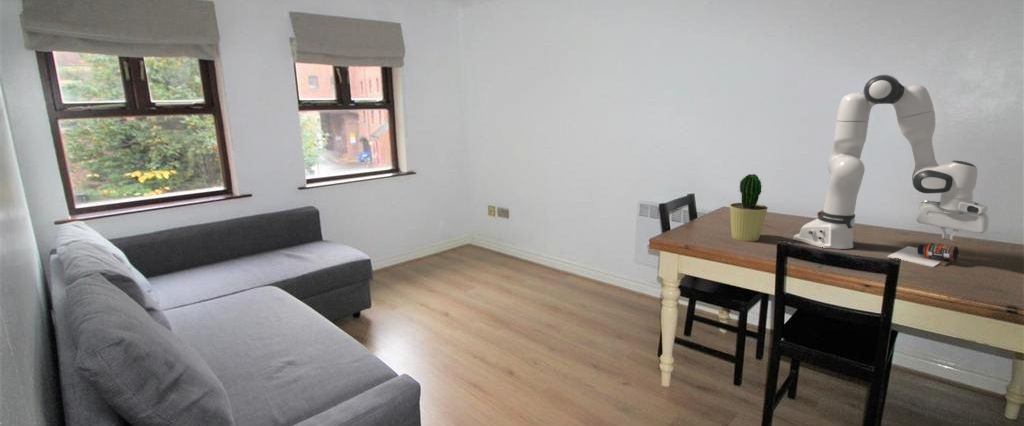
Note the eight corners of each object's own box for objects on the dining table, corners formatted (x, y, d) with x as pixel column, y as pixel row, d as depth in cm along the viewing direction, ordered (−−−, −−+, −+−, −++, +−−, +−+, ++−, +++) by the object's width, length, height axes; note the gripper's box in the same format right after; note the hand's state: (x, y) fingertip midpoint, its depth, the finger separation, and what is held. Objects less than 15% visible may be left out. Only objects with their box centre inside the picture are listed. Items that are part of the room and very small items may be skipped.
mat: (887, 257, 193) (887, 256, 193) (908, 247, 205) (908, 246, 205) (933, 267, 181) (933, 266, 181) (952, 256, 193) (952, 255, 193)
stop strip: (939, 264, 183) (939, 262, 183) (949, 258, 190) (950, 256, 190) (944, 266, 182) (944, 263, 182) (954, 259, 189) (955, 257, 188)
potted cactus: (756, 233, 227) (763, 170, 220) (769, 242, 212) (777, 175, 205) (722, 232, 229) (728, 170, 222) (733, 242, 214) (740, 175, 207)
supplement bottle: (951, 253, 180) (914, 249, 190) (954, 264, 183) (918, 260, 192) (957, 242, 182) (920, 239, 192) (960, 253, 185) (923, 249, 194)
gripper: (917, 200, 188) (910, 234, 192) (988, 210, 172) (979, 247, 175) (923, 198, 192) (916, 231, 195) (993, 208, 175) (984, 244, 179)
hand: (947, 239), depth 185 cm, fingers closed
